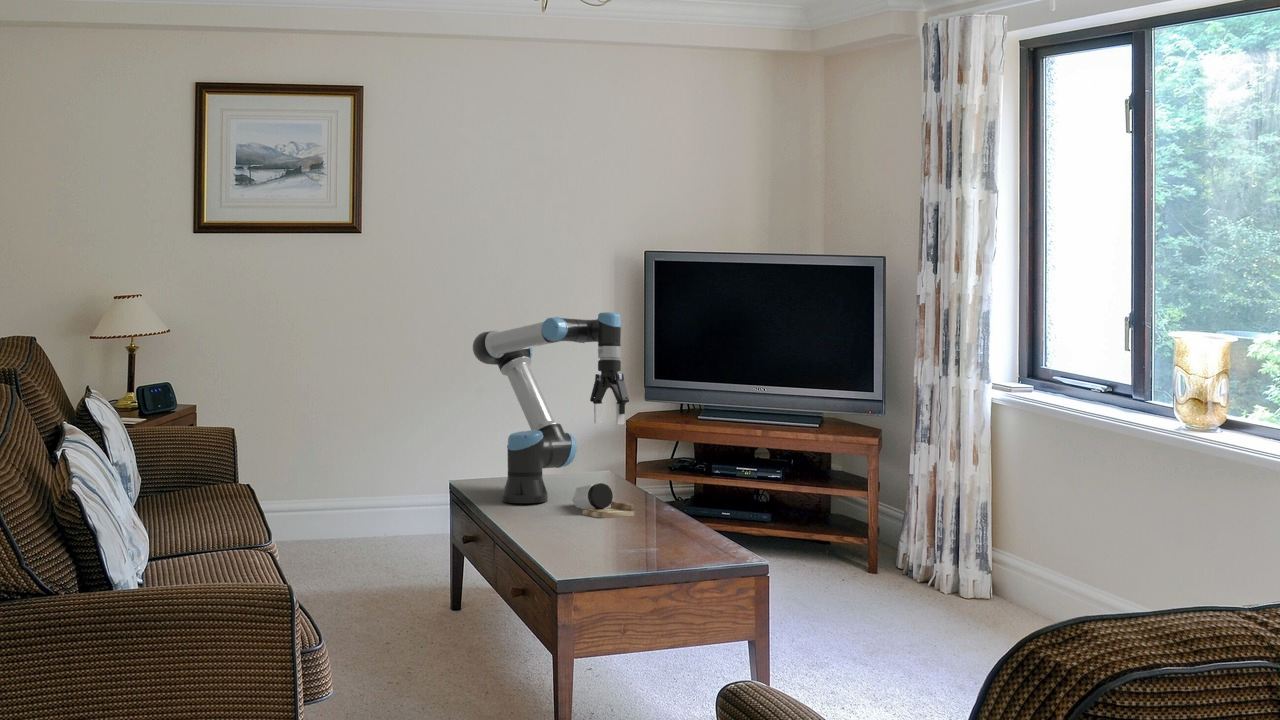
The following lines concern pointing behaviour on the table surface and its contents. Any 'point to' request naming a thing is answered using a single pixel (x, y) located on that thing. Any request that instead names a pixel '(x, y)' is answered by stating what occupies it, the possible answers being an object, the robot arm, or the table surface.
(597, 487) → the jar
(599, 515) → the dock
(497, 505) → the table surface
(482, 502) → the table surface
